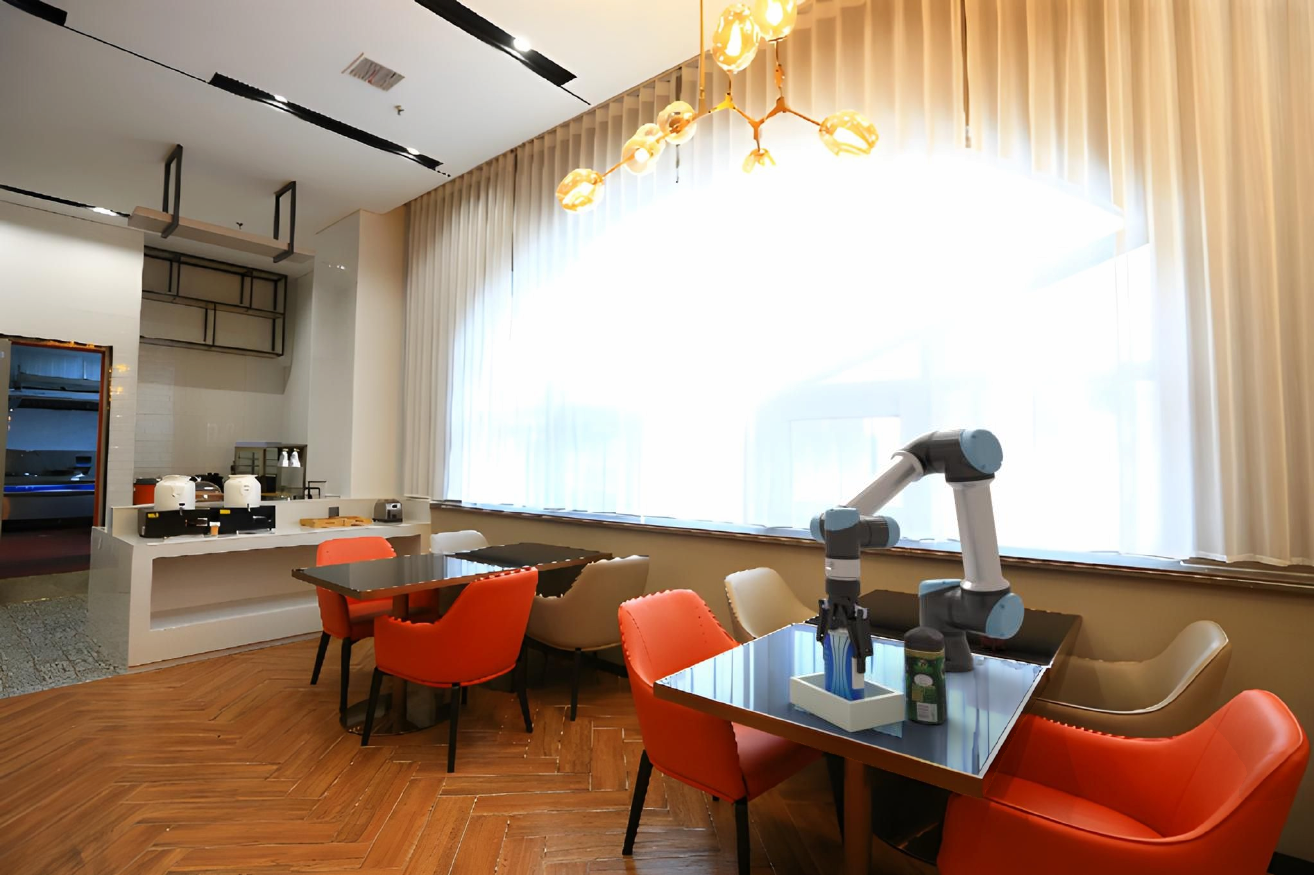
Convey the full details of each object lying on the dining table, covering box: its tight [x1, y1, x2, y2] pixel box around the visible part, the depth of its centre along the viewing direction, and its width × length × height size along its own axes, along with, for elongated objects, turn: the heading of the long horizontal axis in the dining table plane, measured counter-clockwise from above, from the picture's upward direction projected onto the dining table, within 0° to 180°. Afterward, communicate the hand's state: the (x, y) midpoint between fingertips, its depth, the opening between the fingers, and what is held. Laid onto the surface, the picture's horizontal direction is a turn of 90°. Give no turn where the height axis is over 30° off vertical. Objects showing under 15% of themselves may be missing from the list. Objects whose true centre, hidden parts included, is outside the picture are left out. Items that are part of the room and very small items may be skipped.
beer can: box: [823, 627, 865, 701], centre depth 139 cm, size 8×8×16 cm
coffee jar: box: [903, 626, 948, 725], centre depth 135 cm, size 10×8×19 cm
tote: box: [789, 671, 906, 733], centre depth 139 cm, size 15×19×6 cm
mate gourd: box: [978, 634, 1006, 652], centre depth 192 cm, size 8×8×15 cm
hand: (843, 682), depth 139 cm, fingers closed on beer can, 8 cm apart
